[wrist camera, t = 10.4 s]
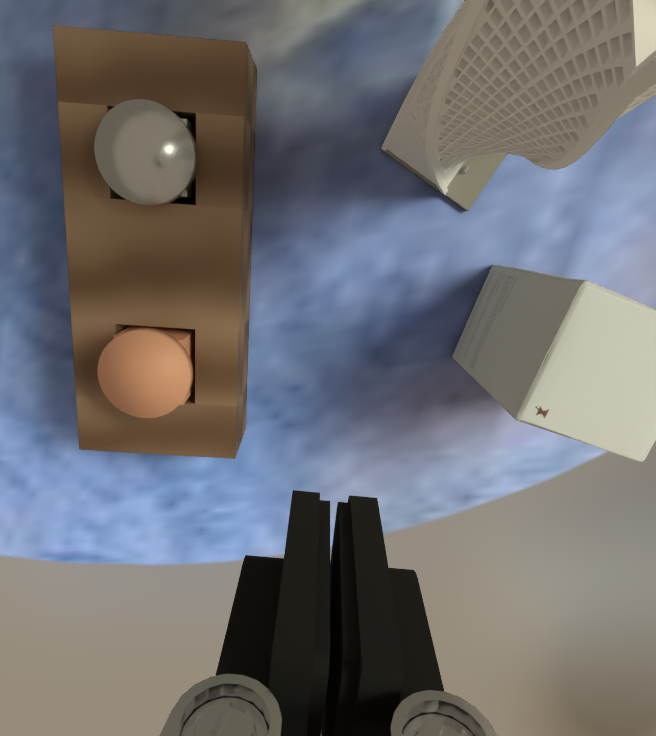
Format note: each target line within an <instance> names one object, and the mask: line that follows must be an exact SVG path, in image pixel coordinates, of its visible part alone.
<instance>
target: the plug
mask: <svg viewBox="0 0 656 736" xmlns="http://www.w3.org/2000/svg"><path fill="white" fill-rule="evenodd" d="M94 151H95V158H96V162H97V165H98V168H99V171H100V173H101V175H102V177H103V178H104V180H105V181H106V183H107V184H108V185H109V186H110V187H111V188H112V189H113V190H114V191H115V192H116V193H117V194H119V195H120V196H121V197H123V198H125V199H127V200H129V201H131V202H134V203H138V204H143V205H164V204H167V203H170V202H173V201H175V200H176V199H189V200H196V171H197V166H198V152H197V147H196V126H195V125H194V124H193V123H191V122H190V121H189V120H188V119H182V118H180V117H178V116H177V115H176V114H175V113H173V112H172V111H171V110H170V109H168V108H167V107H165V106H163V105H161V104H159V103H157V102H154V101H150V100H145V99H134V100H128V101H125V102H122V103H120V104H118V105H116V106H115V107H113V108H112V109H111V110H110V111H109V112H107V114H106V115H105V116H104V117H103V119H102V121H101V122H100V124H99V126H98V129H97V132H96V136H95V142H94Z"/></svg>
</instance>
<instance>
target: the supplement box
mask: <svg viewBox="0 0 656 736" xmlns="http://www.w3.org/2000/svg"><path fill="white" fill-rule="evenodd" d="M452 358H453V359H454V360H455V361H456V362H457V363H458V364H459V365H460V366H461V367H462V368H463V369H464V370H465V371H466V372H467V373H469V374H470V375H471V376H472V377H473V378H474V379H475V380H476V381H477V382H478V383H479V384H480V385H481V386H482V387H483V388H484V389H485V390H486V391H487V392H488V393H489V394H490V395H491V396H492V397H493V398H494V399H495V400H496V401H497V402H498V403H499V404H500V405H501V406H502V407H503V408H504V409H505V410H506V411H507V412H508V413H509V414H510V415H511V416H512V417H513V418H514V419H515V420H517V421H521V422H524V423H527V424H530V425H533V426H536V427H539V428H542V429H545V430H548V431H551V432H554V433H557V434H560V435H563V436H566V437H569V438H572V439H575V440H578V441H581V442H584V443H587V444H590V445H593V446H596V447H599V448H602V449H605V450H608V451H610V452H613V453H616V454H619V455H622V456H624V457H628V458H630V459H633V460H636V461H639V462H642V461H644V460H645V458H646V456H647V454H648V453H649V451H650V449H651V447H652V445H653V444H654V442H655V440H656V309H653V308H651V307H649V306H646V305H644V304H642V303H639V302H637V301H635V300H632V299H630V298H628V297H626V296H623V295H621V294H618V293H616V292H614V291H611V290H609V289H607V288H604V287H602V286H599V285H597V284H595V283H592V282H590V281H587V280H578V279H570V278H564V277H559V276H554V275H549V274H544V273H539V272H535V271H529V270H524V269H519V268H514V267H506V266H501V265H492V267H491V269H490V272H489V274H488V276H487V278H486V280H485V282H484V285H483V287H482V289H481V291H480V294H479V296H478V298H477V301H476V303H475V305H474V307H473V310H472V312H471V314H470V316H469V319H468V321H467V323H466V326H465V328H464V330H463V332H462V335H461V337H460V339H459V342H458V344H457V346H456V348H455V351H454V353H453V355H452Z"/></svg>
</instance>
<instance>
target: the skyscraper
mask: <svg viewBox="0 0 656 736" xmlns="http://www.w3.org/2000/svg"><path fill="white" fill-rule="evenodd" d="M655 95H656V0H465V1H464V2H463V4H462V5H461V7H460V8H459V10H458V11H457V12H456V14H455V15H454V17H453V18H452V20H451V21H450V23H449V24H448V25H447V27H446V29H445V30H444V32H443V33H442V35H441V36H440V38H439V40H438V41H437V43H436V44H435V46H434V48H433V49H432V51H431V52H430V54H429V56H428V58H427V59H426V61H425V63H424V65H423V67H422V68H421V70H420V72H419V74H418V75H417V77H416V79H415V81H414V83H413V85H412V87H411V88H410V90H409V92H408V94H407V96H406V98H405V100H404V102H403V104H402V106H401V108H400V110H399V112H398V114H397V116H396V118H395V120H394V122H393V124H392V126H391V129H390V131H389V133H388V135H387V137H386V139H385V141H384V143H383V145H382V148H381V149H380V150H382V151H383V152H384V153H386V154H387V155H389V156H390V157H391V158H393V159H394V160H396V161H397V162H398V163H400V164H401V165H403V166H404V167H405V168H407V169H408V170H410V171H411V172H412V173H414V174H415V175H417V176H418V177H419V178H421V179H422V180H424V181H425V182H427V183H428V184H429V185H431V186H432V187H434V188H435V189H436V190H438V191H439V192H441V193H442V194H443V195H445V196H446V197H448V198H449V199H450V200H452V201H453V202H455V203H456V204H457V205H459V206H460V207H462V208H463V209H464V210H466V211H468V210H469V209H470V207H471V206H472V205H473V203H474V202H475V200H476V199H477V197H478V196H479V194H480V193H481V191H482V190H483V188H484V187H485V186H486V184H487V183H488V181H489V180H490V178H491V177H492V175H493V174H494V172H495V171H496V170H497V168H498V167H499V165H500V164H501V162H502V161H503V159H504V158H505V156H506V155H507V154H513V155H519V156H523V157H525V158H526V159H527V160H529V161H530V162H532V163H533V164H535V165H537V166H539V167H542V168H546V169H554V170H557V169H561V168H564V167H567V166H568V165H570V164H572V163H574V162H575V161H577V160H578V159H579V158H580V157H581V156H583V155H584V154H585V153H586V152H587V151H588V150H589V149H590V148H591V147H592V146H593V145H594V144H595V143H596V142H597V141H598V140H599V139H600V138H601V137H602V136H603V135H604V133H605V132H606V131H607V130H608V129H609V128H610V127H611V126H612V125H613V123H614V122H615V121H616V120H617V119H618V118H620V117H621V116H623V115H624V114H626V113H627V112H629V111H630V110H632V109H633V108H635V107H637V106H638V105H640V104H641V103H643V102H645V101H647V100H648V99H650V98H652V97H654V96H655Z"/></svg>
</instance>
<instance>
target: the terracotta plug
mask: <svg viewBox="0 0 656 736" xmlns="http://www.w3.org/2000/svg"><path fill="white" fill-rule="evenodd" d="M97 373H98V380H99V384H100V386H101V389H102V391H103V393H104V395H105V396H106V397H107V399H108V400H109V401H110V402H111V403H112V404H113V405H114V406H115V407H116V408H118V409H119V410H121V411H122V412H124V413H126V414H129V415H131V416H135V417H139V418H156V417H160V416H163V415H166V414H168V413H169V412H171V411H173V410H174V409H175V408H176V407H177V406H178V405H183V404H184V403H185V402H186V400H187V399H188V398H189V396H190V395H191V394H192V392H193V391H194V390H195V329H182V328H167V327H153V326H138V325H132V326H130V327H128V328H127V329H125V330H123V331H121V332H119V333H117V334H116V335H114V339H113V340H112V341H111V342H110V343H109V344H108V345H107V346H106V347H105V348H104V350H103V351H102V353H101V356H100V358H99V362H98V372H97Z"/></svg>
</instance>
